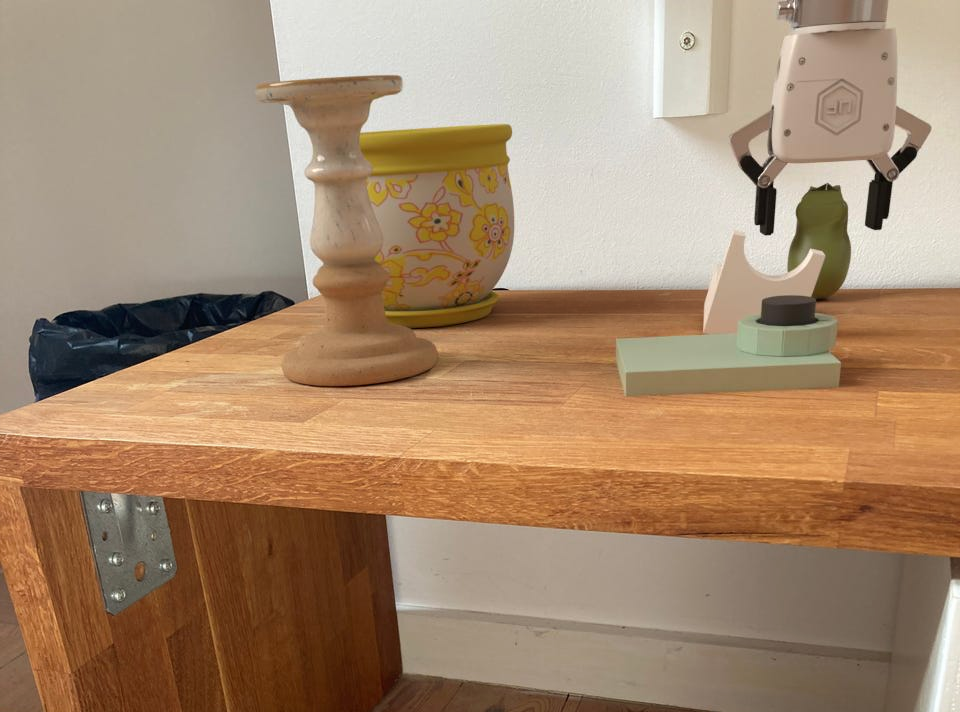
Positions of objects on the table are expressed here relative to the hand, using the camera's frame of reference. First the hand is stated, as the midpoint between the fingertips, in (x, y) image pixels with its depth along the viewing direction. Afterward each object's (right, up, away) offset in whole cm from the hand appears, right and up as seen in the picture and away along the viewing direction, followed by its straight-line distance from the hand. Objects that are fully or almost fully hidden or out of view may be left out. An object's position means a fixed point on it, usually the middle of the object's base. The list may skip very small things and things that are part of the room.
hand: (819, 231), depth 94 cm
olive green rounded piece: (+1, -5, +3) cm, 6 cm away
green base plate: (-14, -19, -21) cm, 31 cm away
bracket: (-8, -11, -7) cm, 16 cm away
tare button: (-10, -16, -23) cm, 29 cm away
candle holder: (-41, -16, -13) cm, 45 cm away
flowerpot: (-36, -6, +7) cm, 37 cm away
